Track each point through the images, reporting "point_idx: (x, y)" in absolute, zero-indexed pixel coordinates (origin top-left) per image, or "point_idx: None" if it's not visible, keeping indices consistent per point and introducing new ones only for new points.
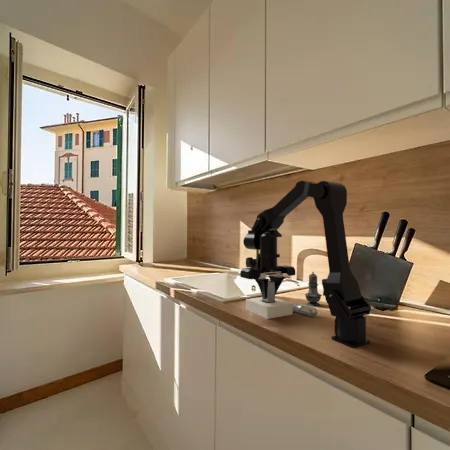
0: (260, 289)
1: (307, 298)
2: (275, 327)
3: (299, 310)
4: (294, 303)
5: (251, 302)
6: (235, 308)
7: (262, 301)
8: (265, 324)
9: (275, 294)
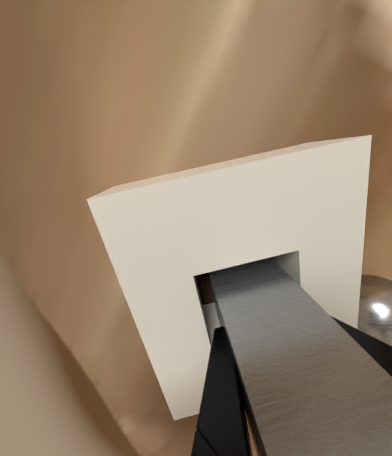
0: (199, 427)
1: None
2: (162, 431)
3: None
4: (389, 319)
5: (122, 280)
6: (40, 129)
7: (213, 287)
8: (139, 407)
9: None
